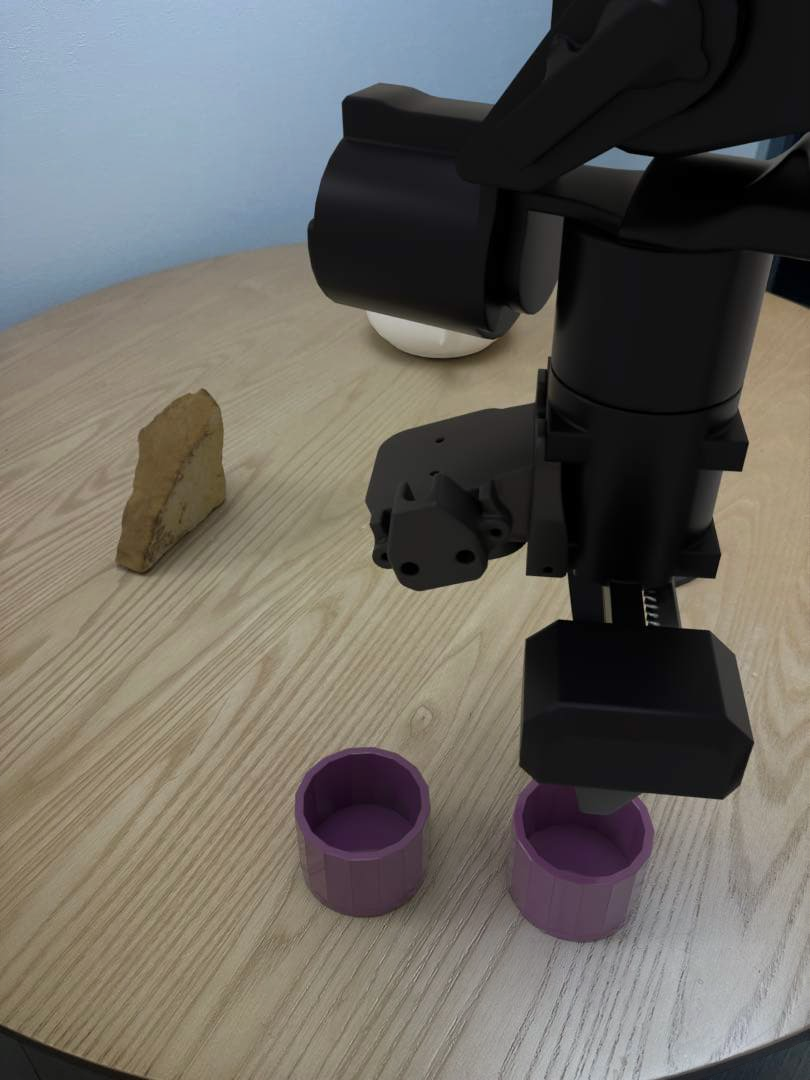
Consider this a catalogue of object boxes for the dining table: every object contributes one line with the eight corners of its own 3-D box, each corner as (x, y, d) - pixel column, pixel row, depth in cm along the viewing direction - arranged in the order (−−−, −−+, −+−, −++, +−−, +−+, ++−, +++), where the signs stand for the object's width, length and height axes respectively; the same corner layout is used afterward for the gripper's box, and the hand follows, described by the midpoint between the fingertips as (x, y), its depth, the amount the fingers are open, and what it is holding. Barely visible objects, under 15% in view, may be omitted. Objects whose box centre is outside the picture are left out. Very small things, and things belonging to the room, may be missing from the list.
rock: (141, 578, 57) (276, 498, 61) (65, 454, 55) (208, 380, 60) (111, 582, 67) (229, 512, 71) (45, 476, 65) (170, 411, 69)
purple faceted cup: (454, 853, 45) (457, 795, 42) (368, 943, 41) (365, 887, 39) (363, 784, 48) (360, 726, 45) (275, 863, 44) (266, 805, 42)
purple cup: (662, 875, 44) (679, 817, 41) (591, 969, 40) (605, 913, 38) (555, 803, 47) (564, 745, 44) (481, 885, 44) (486, 828, 41)
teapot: (532, 387, 80) (543, 264, 73) (371, 393, 79) (368, 270, 73) (494, 282, 97) (500, 175, 90) (362, 286, 96) (358, 179, 90)
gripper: (415, 244, 37) (417, 556, 46) (325, 540, 22) (355, 906, 32) (709, 253, 35) (649, 572, 45) (821, 572, 21) (696, 942, 30)
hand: (590, 714), depth 38 cm, fingers open, 9 cm apart
